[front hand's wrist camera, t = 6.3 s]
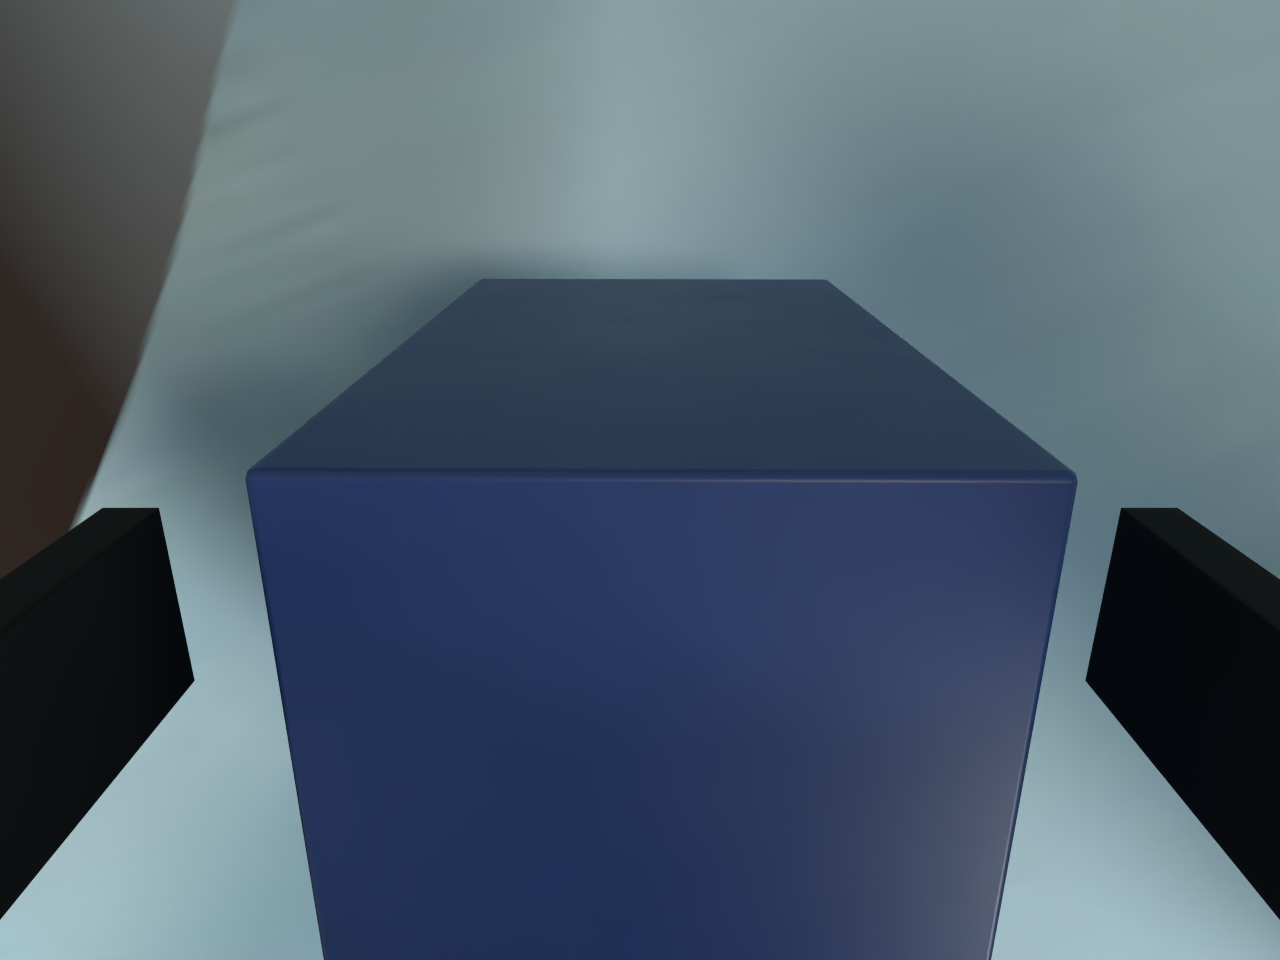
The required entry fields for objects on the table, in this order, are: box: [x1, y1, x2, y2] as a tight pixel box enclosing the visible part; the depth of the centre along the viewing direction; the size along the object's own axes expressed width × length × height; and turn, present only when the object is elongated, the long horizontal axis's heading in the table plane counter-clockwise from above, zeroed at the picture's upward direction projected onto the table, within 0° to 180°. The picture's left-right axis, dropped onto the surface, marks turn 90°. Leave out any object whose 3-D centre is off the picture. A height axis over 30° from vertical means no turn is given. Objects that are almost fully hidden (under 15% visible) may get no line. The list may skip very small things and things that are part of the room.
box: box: [246, 279, 1077, 960], centre depth 17 cm, size 21×8×12 cm, turn 0°
